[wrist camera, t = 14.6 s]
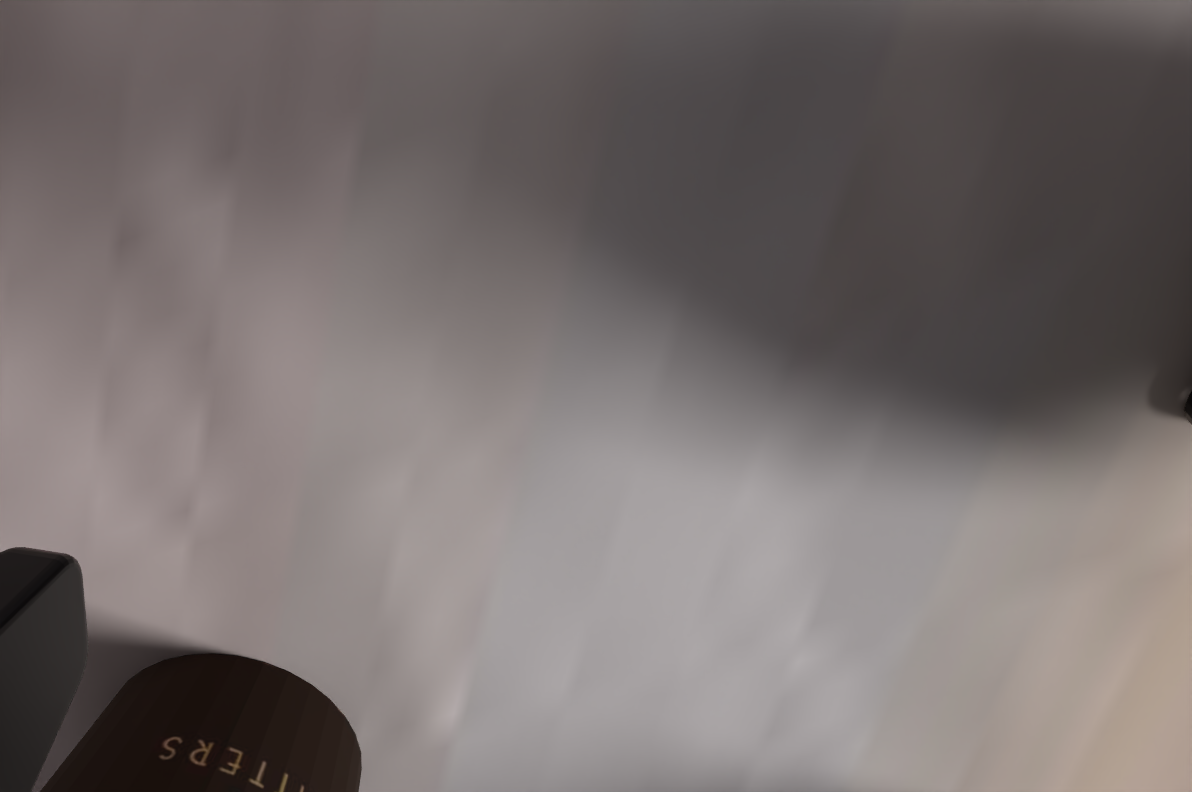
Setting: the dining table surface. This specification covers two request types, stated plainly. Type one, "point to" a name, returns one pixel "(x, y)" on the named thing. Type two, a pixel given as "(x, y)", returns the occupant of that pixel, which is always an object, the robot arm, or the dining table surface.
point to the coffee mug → (214, 734)
